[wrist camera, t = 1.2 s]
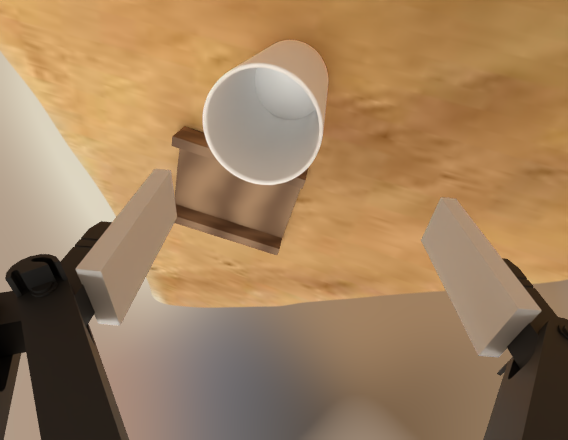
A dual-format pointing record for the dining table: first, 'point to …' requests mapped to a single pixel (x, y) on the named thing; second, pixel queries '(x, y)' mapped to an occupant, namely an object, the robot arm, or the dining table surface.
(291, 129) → the cup
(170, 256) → the dining table surface
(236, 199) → the brown wooden tray
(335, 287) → the dining table surface
